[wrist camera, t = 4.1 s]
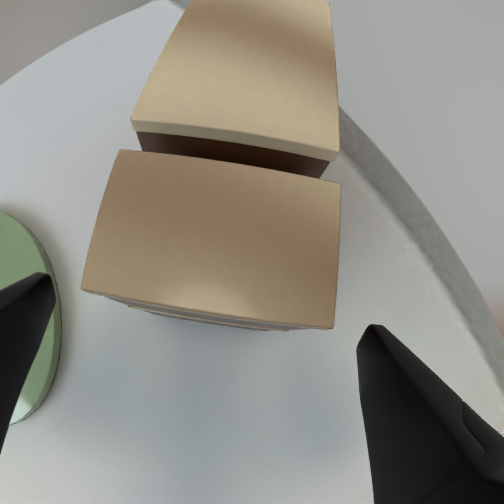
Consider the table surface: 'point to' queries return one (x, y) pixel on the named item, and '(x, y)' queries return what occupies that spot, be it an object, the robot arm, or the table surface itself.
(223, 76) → the cake loaf
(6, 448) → the table surface
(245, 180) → the cake slice
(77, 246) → the table surface
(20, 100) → the table surface
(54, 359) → the plate
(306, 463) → the table surface
